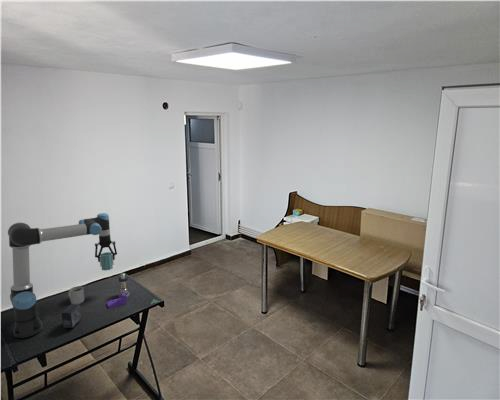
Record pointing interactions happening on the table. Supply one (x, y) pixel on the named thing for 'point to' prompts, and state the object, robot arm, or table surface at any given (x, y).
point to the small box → (71, 316)
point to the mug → (76, 295)
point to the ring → (123, 279)
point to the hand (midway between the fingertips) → (106, 264)
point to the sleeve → (106, 261)
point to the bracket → (117, 301)
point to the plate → (126, 295)
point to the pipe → (123, 285)
